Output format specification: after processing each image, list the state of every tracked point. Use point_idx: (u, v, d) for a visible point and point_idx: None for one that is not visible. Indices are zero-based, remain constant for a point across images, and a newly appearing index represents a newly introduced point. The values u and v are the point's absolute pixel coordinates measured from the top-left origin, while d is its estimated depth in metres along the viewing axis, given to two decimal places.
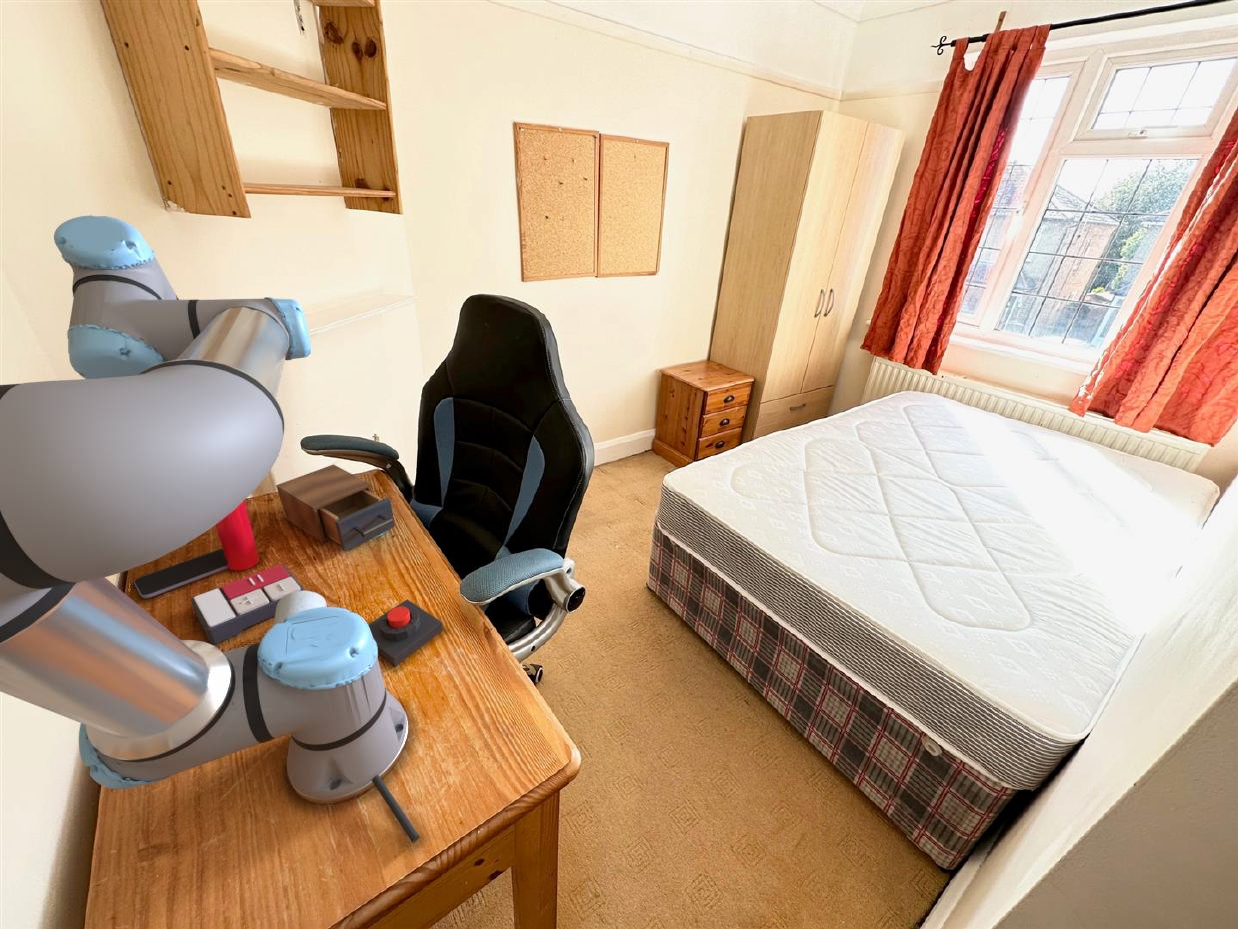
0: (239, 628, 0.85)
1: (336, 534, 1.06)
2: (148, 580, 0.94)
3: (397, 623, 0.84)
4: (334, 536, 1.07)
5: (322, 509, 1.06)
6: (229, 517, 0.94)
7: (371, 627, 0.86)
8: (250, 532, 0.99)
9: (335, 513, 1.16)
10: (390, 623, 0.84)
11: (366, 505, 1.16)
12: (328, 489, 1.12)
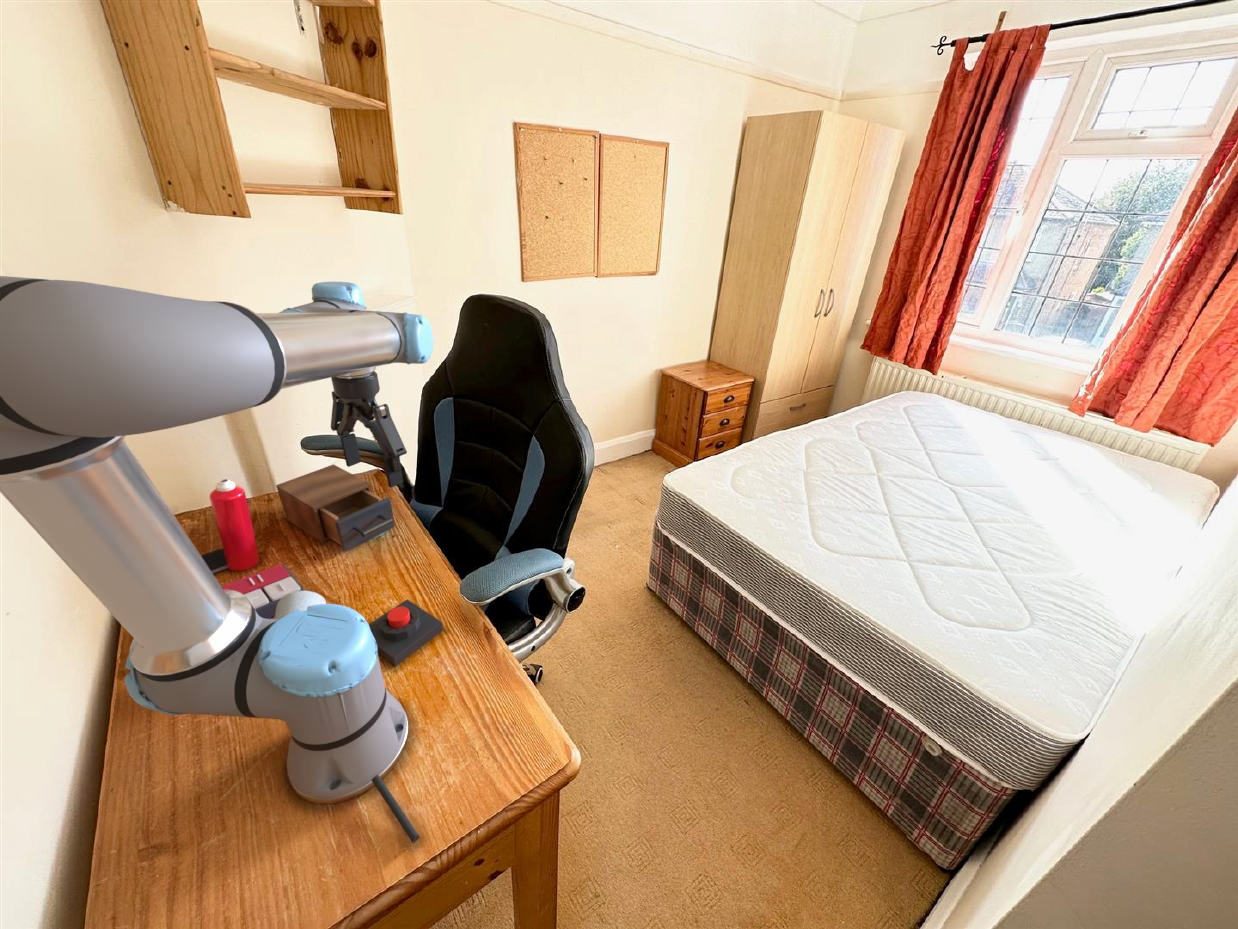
0: None
1: (336, 534, 1.06)
2: None
3: (397, 623, 0.84)
4: (334, 536, 1.07)
5: (322, 509, 1.06)
6: (231, 518, 0.94)
7: (371, 627, 0.86)
8: (252, 532, 0.99)
9: (335, 513, 1.16)
10: (390, 623, 0.84)
11: (366, 505, 1.16)
12: (328, 489, 1.12)
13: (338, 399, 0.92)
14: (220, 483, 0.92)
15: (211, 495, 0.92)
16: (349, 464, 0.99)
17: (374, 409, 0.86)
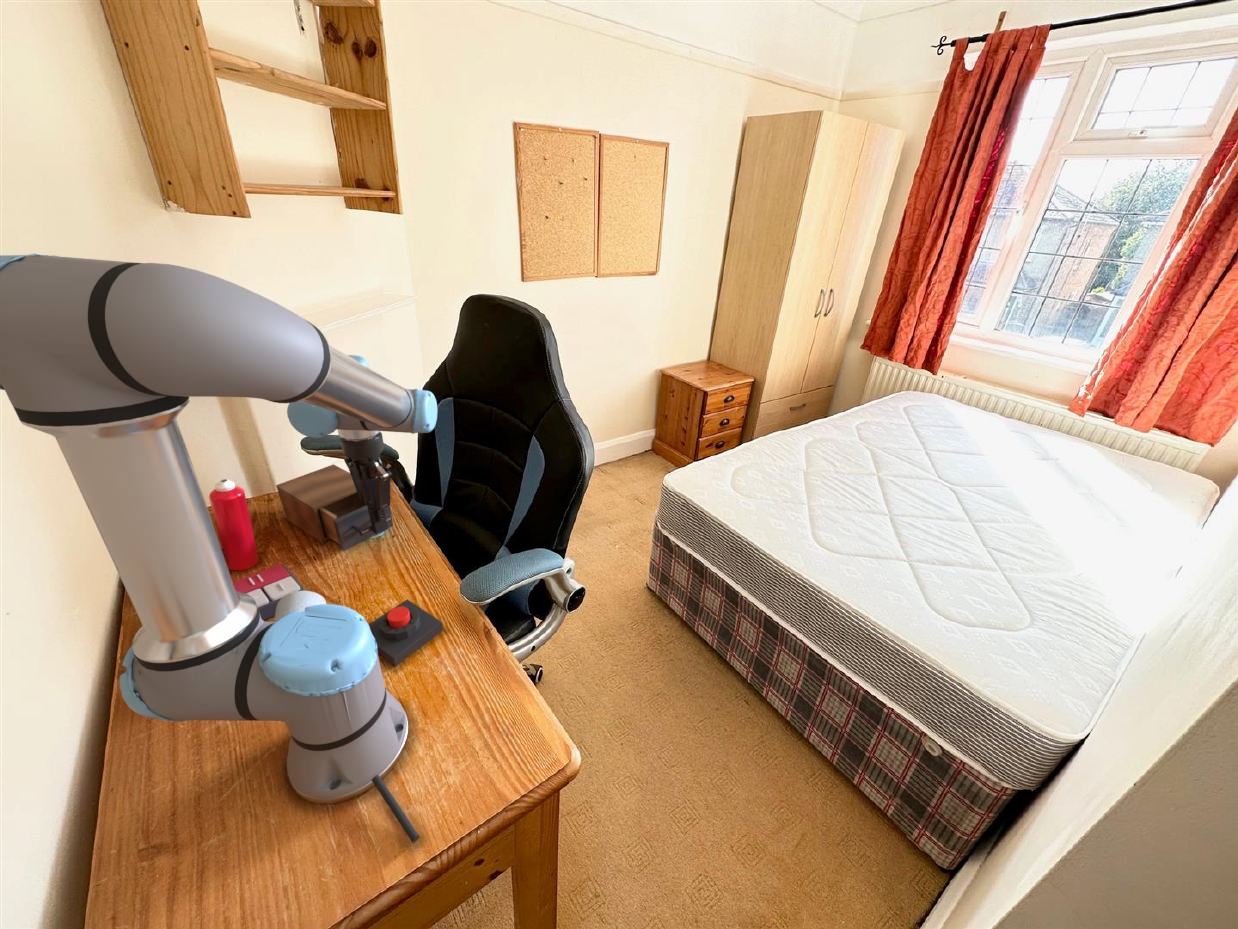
0: None
1: (334, 533, 1.07)
2: None
3: (397, 623, 0.84)
4: (332, 535, 1.08)
5: (320, 508, 1.07)
6: (230, 518, 0.94)
7: (371, 627, 0.86)
8: (251, 532, 0.99)
9: (333, 512, 1.16)
10: (390, 623, 0.84)
11: (364, 504, 1.16)
12: (328, 489, 1.12)
13: (350, 462, 1.00)
14: (220, 483, 0.92)
15: (211, 495, 0.92)
16: None
17: (379, 477, 0.95)
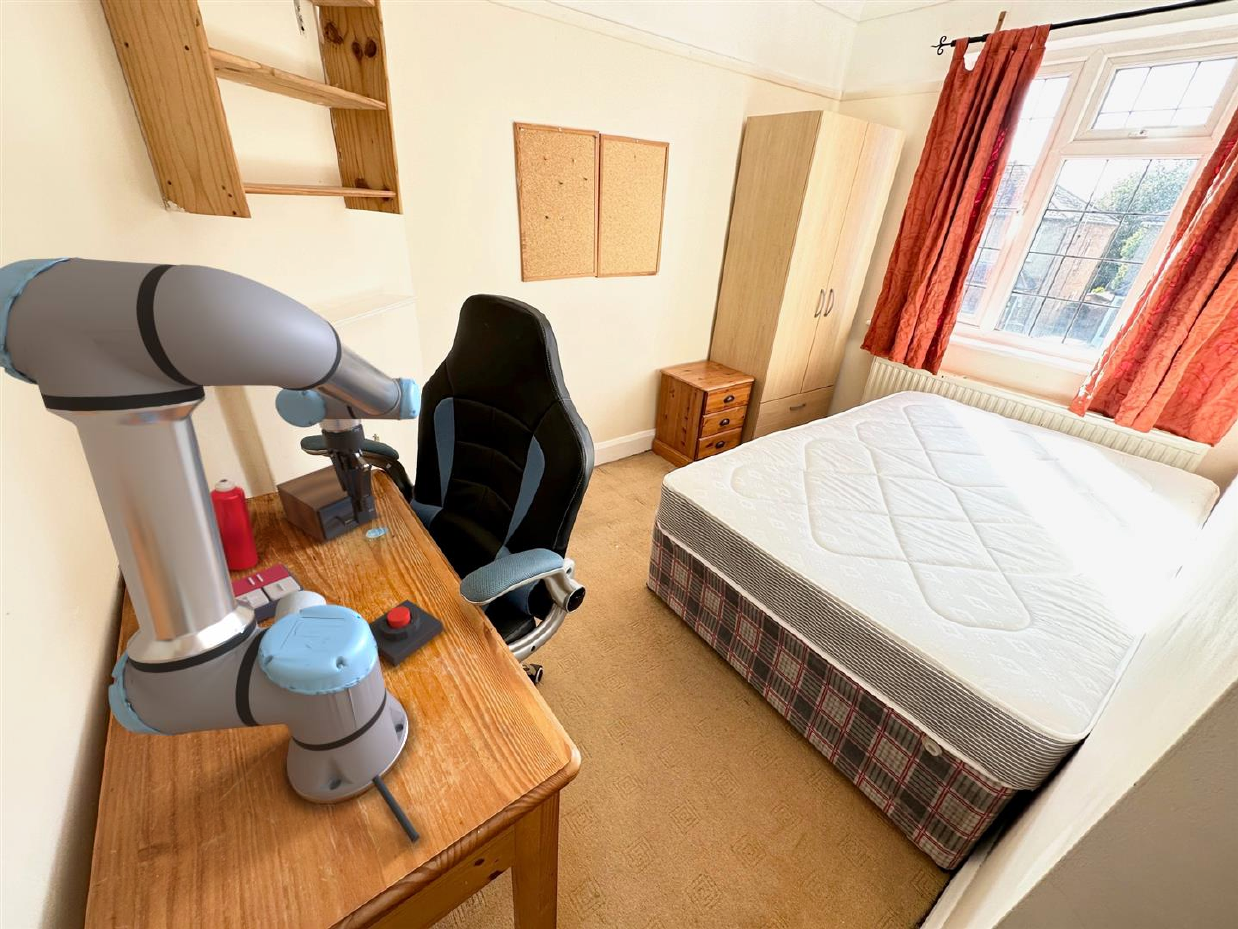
0: None
1: None
2: None
3: (397, 623, 0.84)
4: None
5: None
6: (230, 518, 0.94)
7: (371, 627, 0.86)
8: (251, 532, 0.99)
9: None
10: (390, 623, 0.84)
11: None
12: (328, 489, 1.12)
13: (332, 454, 1.03)
14: (219, 483, 0.92)
15: None
16: None
17: (359, 468, 0.98)
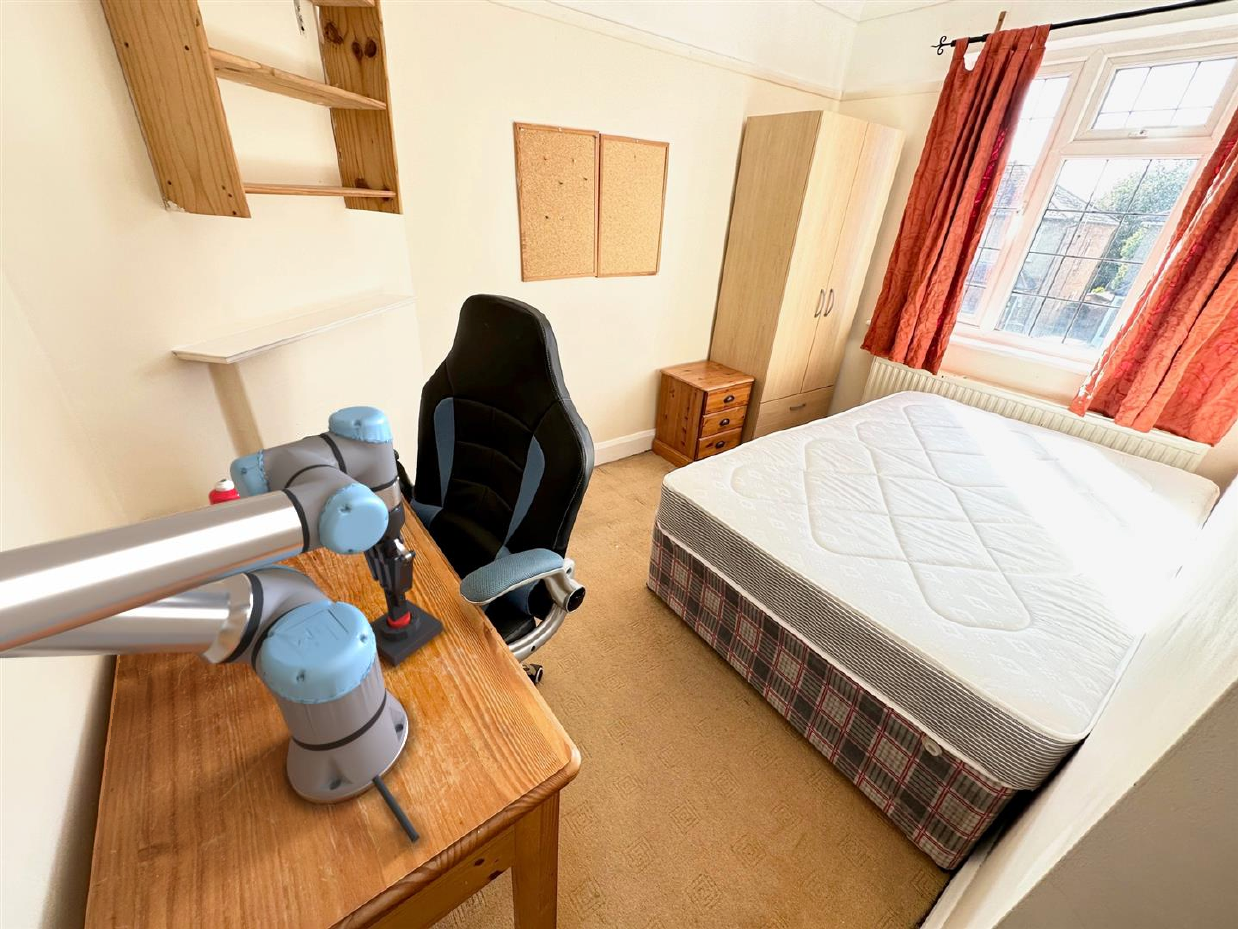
0: None
1: None
2: None
3: (398, 626, 0.84)
4: None
5: None
6: None
7: (371, 627, 0.86)
8: None
9: None
10: (391, 626, 0.85)
11: None
12: None
13: None
14: (219, 483, 0.92)
15: (210, 495, 0.92)
16: None
17: (400, 560, 0.74)
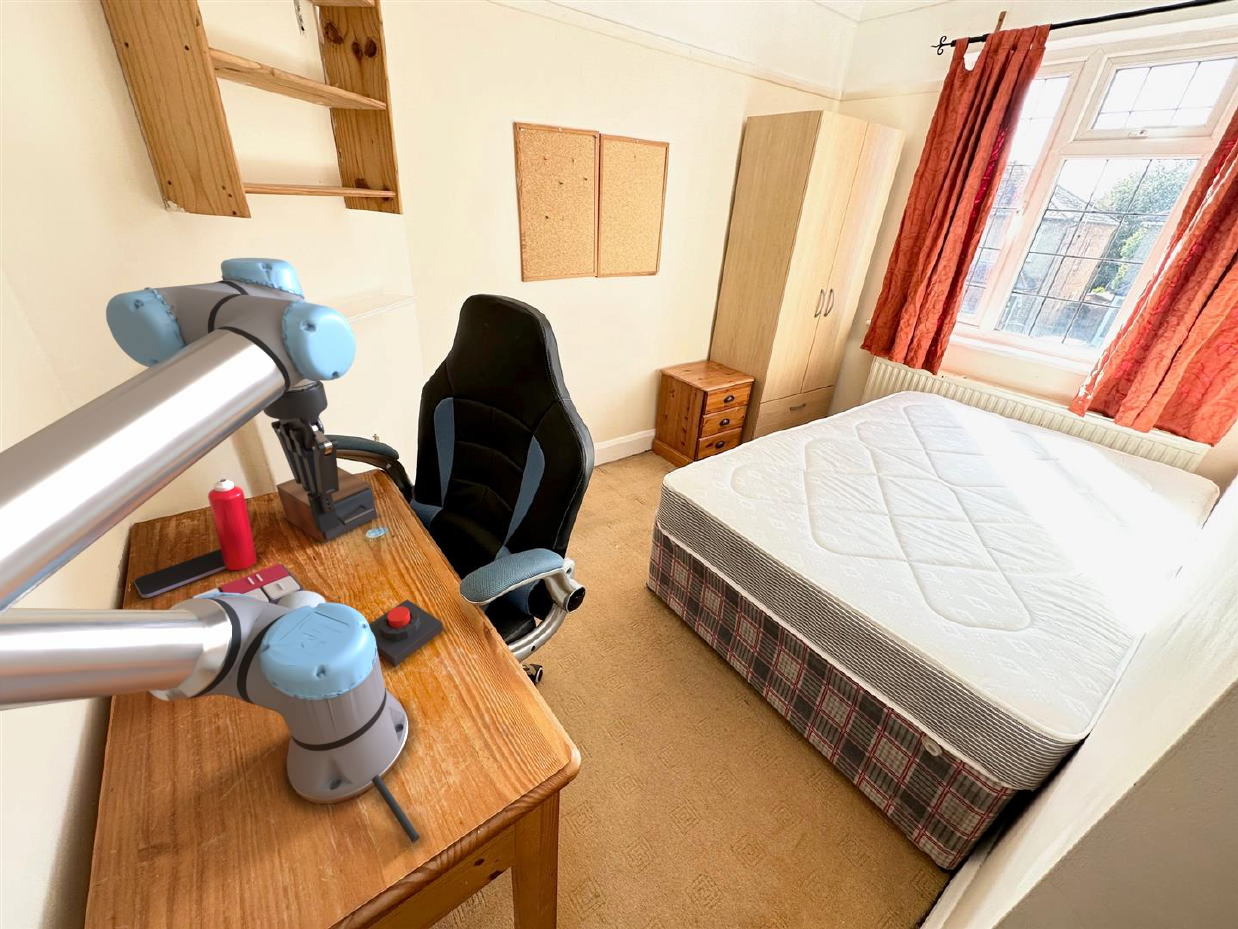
0: None
1: None
2: (148, 579, 0.94)
3: (397, 623, 0.84)
4: None
5: None
6: (228, 517, 0.94)
7: (371, 627, 0.86)
8: (249, 532, 0.99)
9: None
10: (390, 623, 0.84)
11: None
12: None
13: (280, 428, 0.69)
14: (218, 483, 0.92)
15: (209, 494, 0.92)
16: None
17: (317, 448, 0.64)
